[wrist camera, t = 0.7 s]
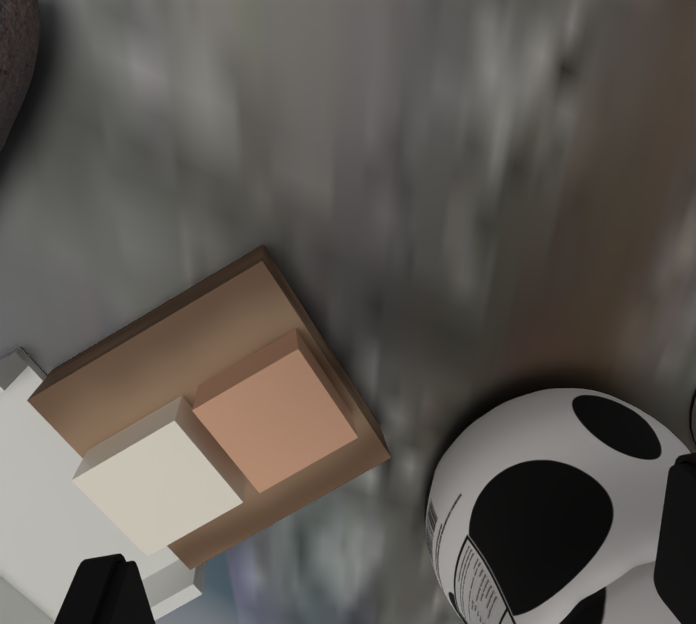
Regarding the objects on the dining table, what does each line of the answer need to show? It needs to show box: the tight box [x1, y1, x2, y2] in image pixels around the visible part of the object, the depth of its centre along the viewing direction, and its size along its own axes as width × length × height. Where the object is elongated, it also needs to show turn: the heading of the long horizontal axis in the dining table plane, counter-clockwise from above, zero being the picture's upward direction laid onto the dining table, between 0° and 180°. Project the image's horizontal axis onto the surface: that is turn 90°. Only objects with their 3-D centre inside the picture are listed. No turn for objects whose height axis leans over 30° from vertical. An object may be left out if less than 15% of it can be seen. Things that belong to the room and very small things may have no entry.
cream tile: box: [72, 396, 245, 557], centre depth 28 cm, size 6×6×2 cm
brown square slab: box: [27, 245, 391, 570], centre depth 31 cm, size 14×14×4 cm
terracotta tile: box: [192, 329, 358, 493], centre depth 28 cm, size 6×6×2 cm
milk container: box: [425, 388, 691, 624], centre depth 30 cm, size 17×17×18 cm
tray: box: [0, 347, 207, 624], centre depth 32 cm, size 18×12×4 cm, turn 29°
